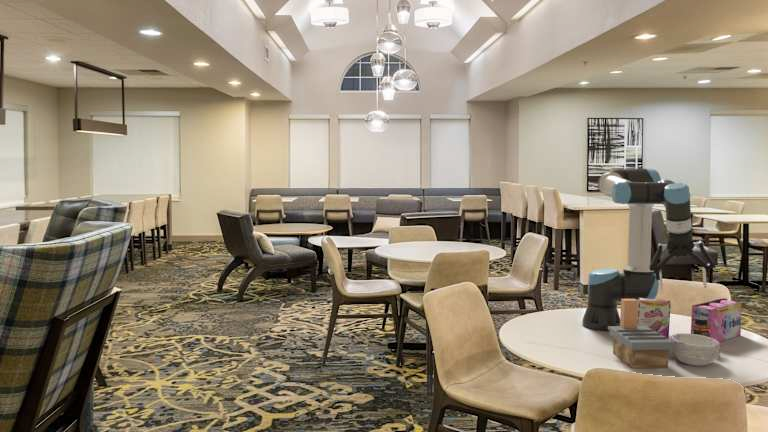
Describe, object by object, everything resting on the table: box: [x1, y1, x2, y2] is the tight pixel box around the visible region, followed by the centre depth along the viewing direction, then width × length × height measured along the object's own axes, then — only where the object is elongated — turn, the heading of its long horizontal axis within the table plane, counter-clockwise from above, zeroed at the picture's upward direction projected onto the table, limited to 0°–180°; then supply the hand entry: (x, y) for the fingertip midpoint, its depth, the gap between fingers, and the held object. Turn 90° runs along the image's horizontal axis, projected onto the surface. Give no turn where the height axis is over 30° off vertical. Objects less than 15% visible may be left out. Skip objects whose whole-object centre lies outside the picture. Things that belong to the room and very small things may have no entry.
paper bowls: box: [669, 332, 721, 367], centre depth 219 cm, size 15×15×8 cm
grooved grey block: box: [607, 299, 674, 351], centre depth 220 cm, size 20×14×12 cm
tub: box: [612, 337, 670, 369], centre depth 220 cm, size 16×12×8 cm
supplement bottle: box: [692, 317, 710, 337], centre depth 233 cm, size 6×6×11 cm
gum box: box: [690, 297, 743, 343], centre depth 248 cm, size 24×8×14 cm, turn 124°
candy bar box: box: [638, 298, 672, 340], centre depth 240 cm, size 11×5×16 cm, turn 71°
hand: (683, 287), depth 220 cm, fingers open, 13 cm apart
